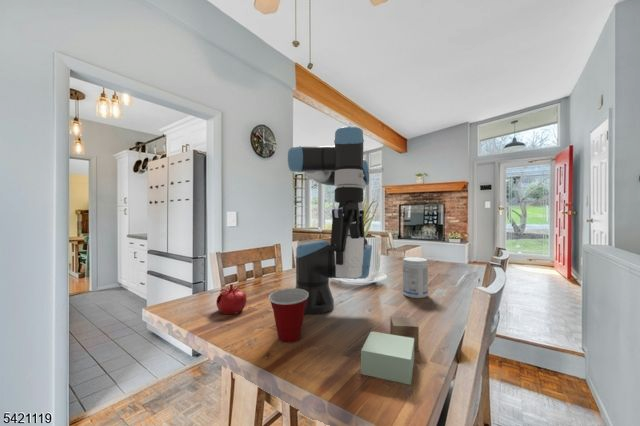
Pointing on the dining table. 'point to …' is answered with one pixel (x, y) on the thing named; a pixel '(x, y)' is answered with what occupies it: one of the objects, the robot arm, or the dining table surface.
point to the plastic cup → (289, 312)
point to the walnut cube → (405, 329)
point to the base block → (388, 357)
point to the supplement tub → (415, 277)
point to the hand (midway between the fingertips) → (348, 274)
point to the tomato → (231, 300)
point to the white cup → (354, 256)
